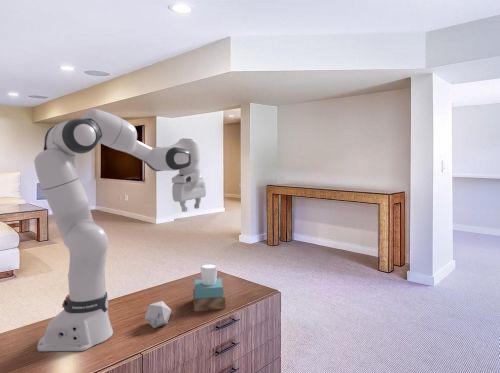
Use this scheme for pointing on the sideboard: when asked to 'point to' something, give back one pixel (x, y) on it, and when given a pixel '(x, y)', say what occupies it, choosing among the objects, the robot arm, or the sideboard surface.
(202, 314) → the sideboard surface
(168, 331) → the sideboard surface
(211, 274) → the white rimmed cylinder
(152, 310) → the die
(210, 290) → the tower top block
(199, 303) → the tower base block
